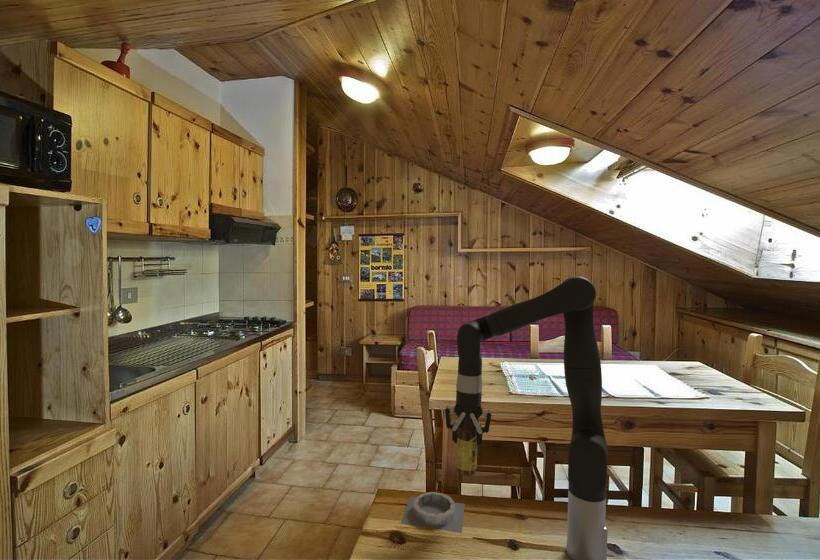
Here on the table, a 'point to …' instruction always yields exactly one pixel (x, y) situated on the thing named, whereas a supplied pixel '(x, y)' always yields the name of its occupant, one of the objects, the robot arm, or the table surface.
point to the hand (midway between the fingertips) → (466, 443)
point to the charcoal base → (435, 509)
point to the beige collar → (431, 518)
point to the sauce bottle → (466, 446)
